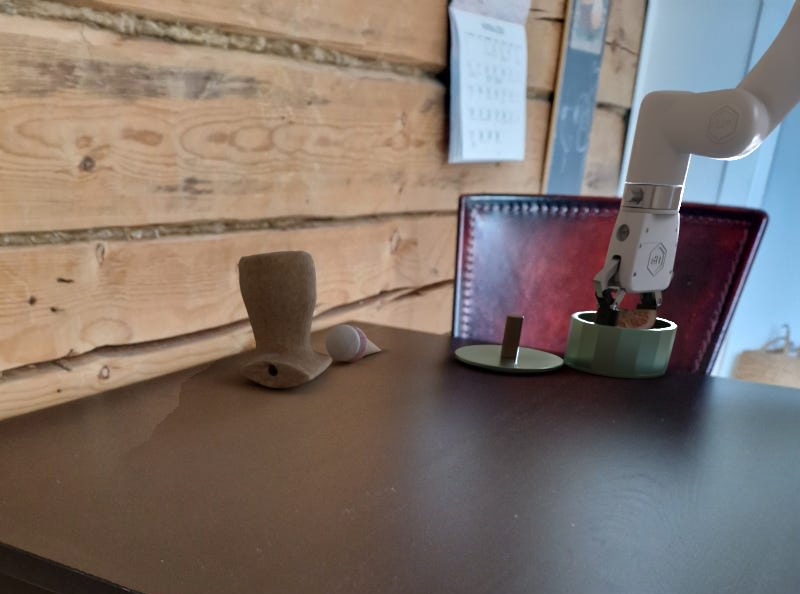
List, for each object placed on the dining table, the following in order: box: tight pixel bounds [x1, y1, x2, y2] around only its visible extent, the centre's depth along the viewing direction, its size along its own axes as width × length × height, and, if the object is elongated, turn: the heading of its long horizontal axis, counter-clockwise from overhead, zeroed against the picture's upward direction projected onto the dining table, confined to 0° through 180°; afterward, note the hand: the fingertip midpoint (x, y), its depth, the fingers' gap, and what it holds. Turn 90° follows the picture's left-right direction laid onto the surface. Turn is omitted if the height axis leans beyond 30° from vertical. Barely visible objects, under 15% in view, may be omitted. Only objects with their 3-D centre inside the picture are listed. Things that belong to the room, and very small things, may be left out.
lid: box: [454, 313, 564, 375], centre depth 122 cm, size 15×15×7 cm
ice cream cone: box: [324, 324, 383, 363], centre depth 121 cm, size 5×5×15 cm
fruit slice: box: [595, 306, 658, 329], centre depth 122 cm, size 8×7×5 cm
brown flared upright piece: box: [237, 250, 333, 389], centre depth 106 cm, size 15×12×15 cm
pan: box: [563, 310, 678, 380], centre depth 124 cm, size 14×14×6 cm
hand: (622, 335), depth 123 cm, fingers closed on fruit slice, 8 cm apart
